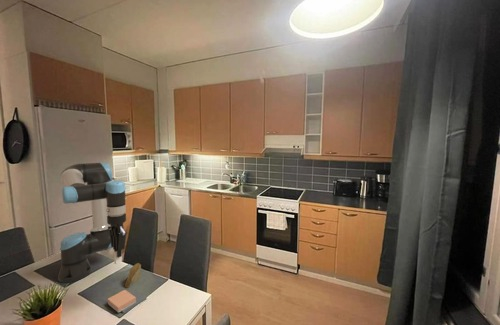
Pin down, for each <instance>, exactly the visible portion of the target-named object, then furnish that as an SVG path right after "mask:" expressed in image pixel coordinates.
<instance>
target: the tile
mask: <svg viewBox="0 0 500 325" xmlns="http://www.w3.org/2000/svg"><path fill="white" fill-rule="evenodd" d="M130 293H131V292H129V291H128V290H126V289H124V290H121V291H120V292H118V293H116V294H114V295H112V296H110V297H109V298H107V305H109V306H110V307H111V308H112V309H113V310H115V311H116V312H117V313H121V311H122V310H124V309H125V308H127V307H129V306H130V305H132V304H134V303H135V302H136V297H135V296H133V295H132V294H130Z"/></svg>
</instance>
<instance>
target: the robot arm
mask: <svg viewBox="0 0 500 325" xmlns="http://www.w3.org/2000/svg"><path fill="white" fill-rule="evenodd" d="M60 180H61V182H62V183H63V184H64V186H65V187H62V189H61V195H62V196H61V197H62V202H63V204H76V203H82V202H89V201H91V216H92V217H91V218H92V228H91V229H90V230H89V232H90V233H86V232H84V231H81V232H75V233H73V234H70V235H67V236H66V237H64V238H63V239H62V240H61V241H60V247H59V250H60V259H61V260H60V263H61V266H60V269H59V272H58V275H57V281H58V282H59V283H62V284H66V283H73V282H77V281H79V280H82V279H84V278H86V277H88V276H89V275H91V273H92V270H93V269H92V265H91V263H90V261H89V260H88V255H92V254H95V253H99V252H103V251H108V250H110V249H112V250H113V256H114V257H113V258H114V259H113V260H114V263H113V264H114V265H118V264H120V263H122V262H123V254H122V253H123V251H122V250H125V247H126V246H125V245H126V238H127V234H128V231H127V230H124V228H125V227H124V223H126V221H127V214H126V212H127V208H126V206H127V204H126V189H127V188H126V186H125V184H126V183H125V181H124V180H113V171H112V168H111V165H110V164H109V163H108V162H89V163H76V164H72V165H69V166H68V167H66V168H64V169H63V170H62V172H61V173H60Z"/></svg>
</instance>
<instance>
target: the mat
mask: <svg viewBox="0 0 500 325" xmlns="http://www.w3.org/2000/svg"><path fill="white" fill-rule="evenodd" d="M129 293H130V294H132V295H133V296H135V297H136V302H135V303H134V304H132V305H130V306H129V307H127V308H125V309H124V310H122V311H120V313H122V314H125V313H127V312H128V311H130V310H132V309H133V308H135V307H137V306H138V305H140V304H141V303H143V302H145V301H146V300H147V297H146V296H144V295H143V294H142V293H140V292H139V291H137V290H132V291H131V292H129Z"/></svg>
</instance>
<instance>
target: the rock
mask: <svg viewBox="0 0 500 325" xmlns="http://www.w3.org/2000/svg"><path fill="white" fill-rule="evenodd" d="M141 270H142V264H141V263H140V262H137V263H135V264H134V265H133V266H132V267H131V268H130V269H129V273H128V274H127V275H128V277H127V278H126V281H125V284H124V288H128V289H129V288H130V287H131V286H132V285H133V284H134V283H136V282H137V281H138V280H139V279H140V278H141Z"/></svg>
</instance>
